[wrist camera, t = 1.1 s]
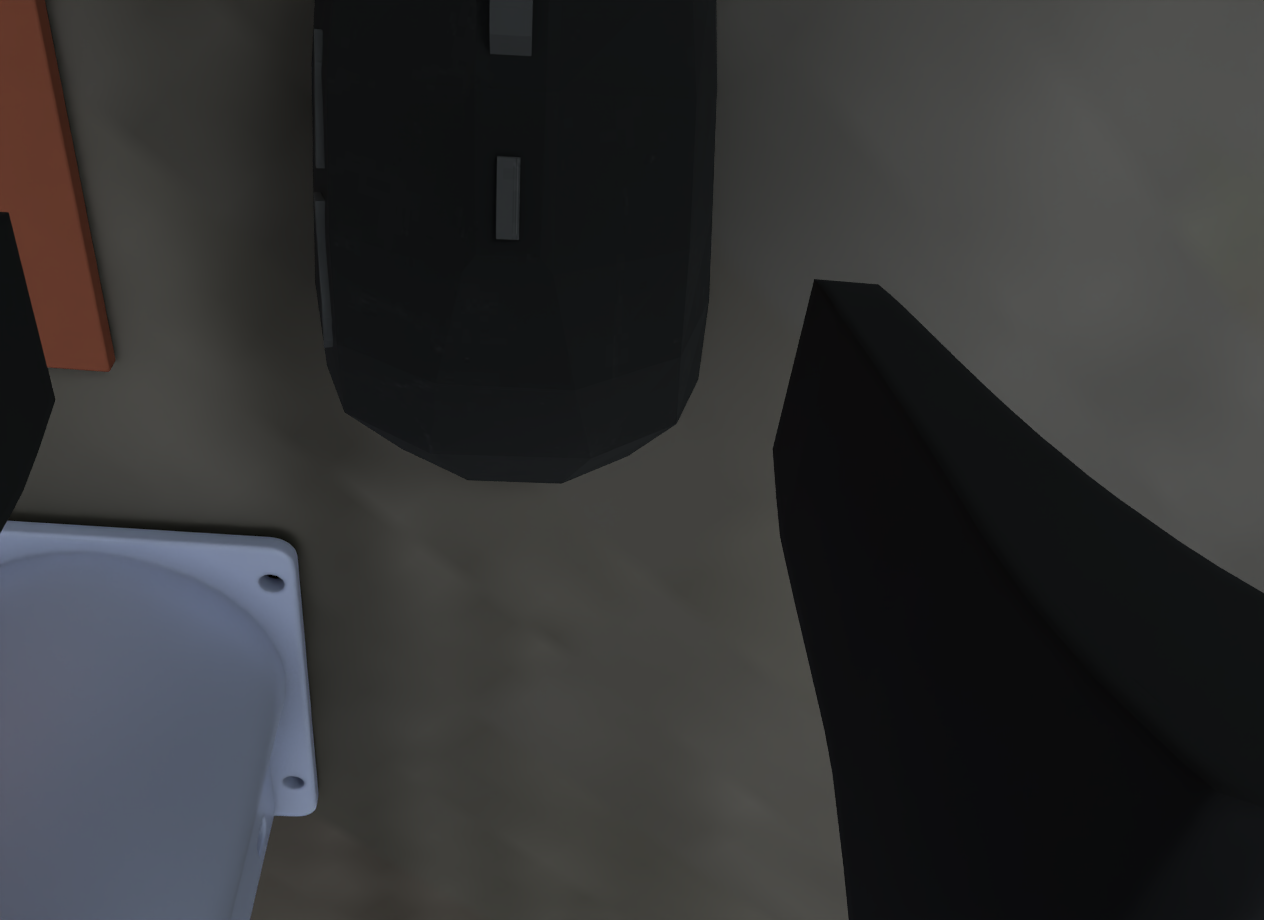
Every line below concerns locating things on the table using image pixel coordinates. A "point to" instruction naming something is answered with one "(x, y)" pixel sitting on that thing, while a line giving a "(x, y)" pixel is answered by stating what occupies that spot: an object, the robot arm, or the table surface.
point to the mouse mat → (47, 195)
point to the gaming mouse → (514, 223)
